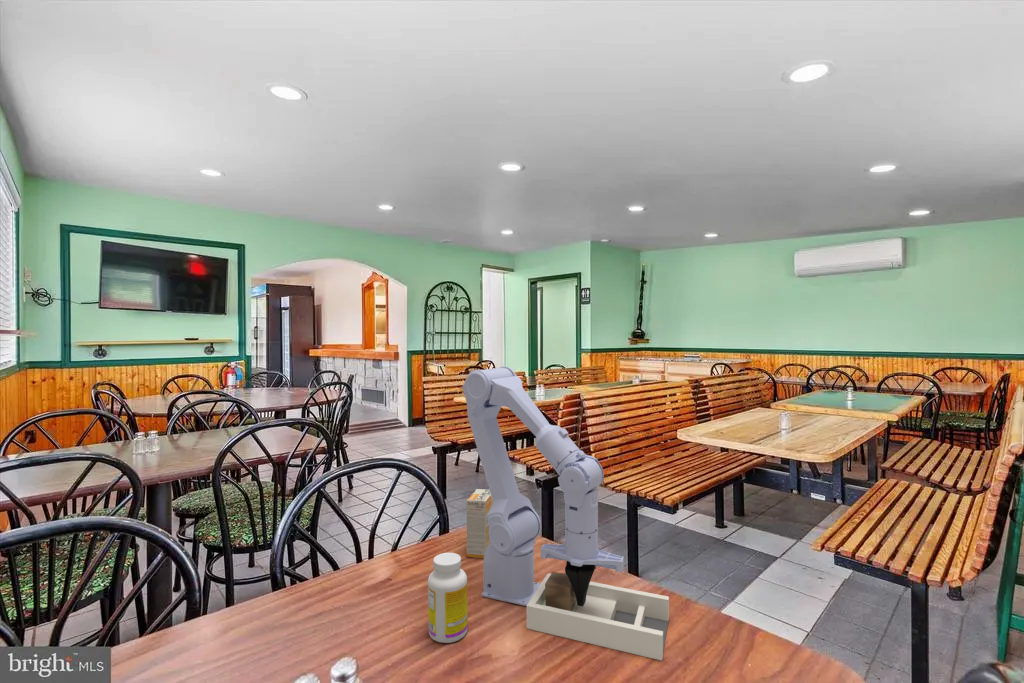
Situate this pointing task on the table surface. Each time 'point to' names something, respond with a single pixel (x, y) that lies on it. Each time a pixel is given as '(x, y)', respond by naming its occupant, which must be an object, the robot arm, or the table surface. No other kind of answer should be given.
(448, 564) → the supplement bottle
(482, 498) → the supplement box
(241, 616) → the table surface
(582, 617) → the track
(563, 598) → the walnut block
